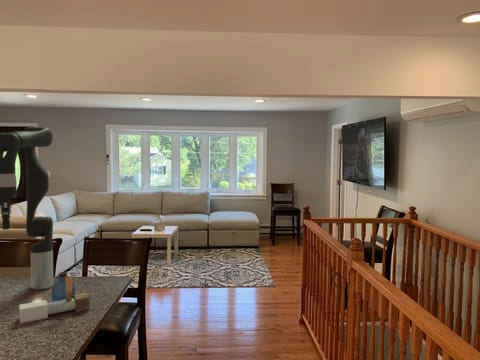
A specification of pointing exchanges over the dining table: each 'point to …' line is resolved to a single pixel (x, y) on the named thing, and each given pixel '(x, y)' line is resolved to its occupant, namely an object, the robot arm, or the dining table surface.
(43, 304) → the pale white block
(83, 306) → the socket block
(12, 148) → the robot arm
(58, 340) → the dining table surface
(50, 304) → the grey bar with post
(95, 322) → the dining table surface
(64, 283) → the perfume bottle
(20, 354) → the dining table surface
